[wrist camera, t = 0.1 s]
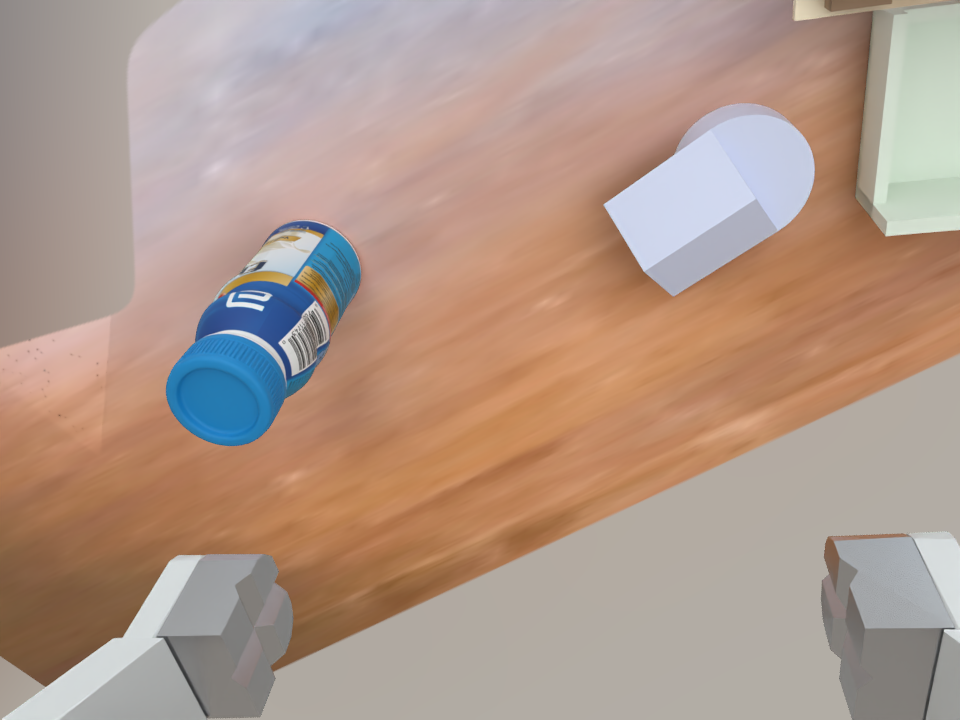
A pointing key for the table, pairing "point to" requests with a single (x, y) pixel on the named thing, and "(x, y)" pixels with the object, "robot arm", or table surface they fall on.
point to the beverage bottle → (264, 334)
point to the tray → (912, 120)
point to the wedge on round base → (715, 194)
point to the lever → (846, 7)
